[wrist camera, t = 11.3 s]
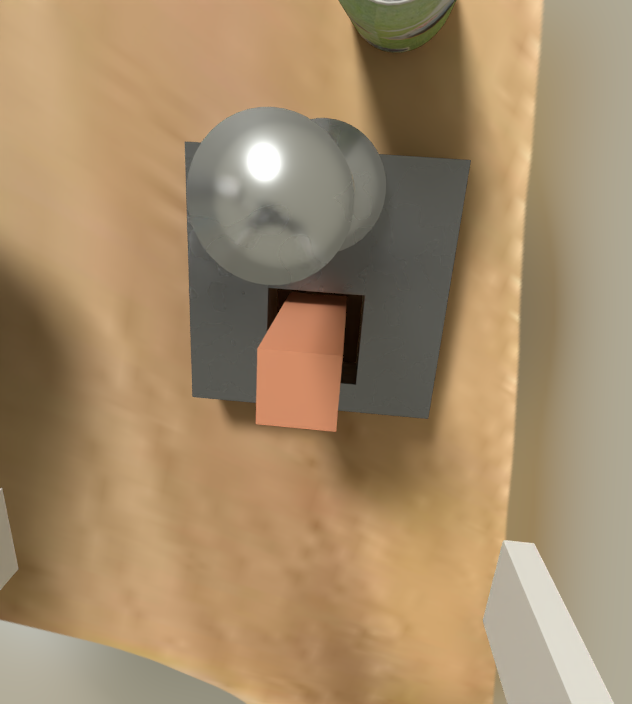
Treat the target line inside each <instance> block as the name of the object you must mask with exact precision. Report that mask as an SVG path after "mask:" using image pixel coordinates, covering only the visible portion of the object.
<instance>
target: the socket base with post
mask: <svg viewBox="0 0 632 704" xmlns="http://www.w3.org/2000/svg"><path fill="white" fill-rule="evenodd" d="M470 162H471V160H460V159H445V158H430V157H414V156H399V155H383V154H378V152H377V150H376V148H375V147H374V145H373V144H372V142H371V141H370V140H369V139H368V138H367V137H366V136H365V135H364V134H363V133H362V132H360V131H359V130H358V129H356V128H355V127H353V126H352V125H349V124H347V123H345V122H342V121H339V120H335V119H328V118H316V119H309V118H307V117H306V116H303V115H301V114H299V113H297V112H294V111H291V110H287V109H284V108H276V107H258V108H252V109H247V110H244V111H241V112H238V113H236V114H234V115H232V116H230V117H228V118H226V119H225V120H223V121H222V122H220V123H219V124H218V125H217V126H216V127H214V128H213V129H212V130H211V131H210V132H209V133H208V135H207V136H206V137H205V138H204V140H203V141H202V142H201V143H198V142H185V167H186V199H187V232H188V265H189V298H190V331H191V363H192V396H193V397H199V398H210V399H220V400H231V401H242V402H253V403H256V390H257V348H258V347H259V345H260V343H261V342H262V340H263V338H264V336H265V335H266V333H267V331H268V330H269V328H270V326H271V324H272V323H273V321H274V319H275V318H276V316H277V292H278V289H291V290H303V291H316V292H328V293H341V294H353V295H363V296H362V306H361V316H360V326H359V336H358V346H357V356H356V363H354V362H343V361H342V370H341V382H340V393H339V404H338V410H339V411H349V412H360V413H371V414H382V415H392V416H403V417H414V418H425V419H428V417H429V411H430V404H431V398H432V392H433V386H434V380H435V374H436V368H437V362H438V356H439V350H440V344H441V338H442V332H443V326H444V320H445V314H446V308H447V301H448V295H449V289H450V283H451V277H452V271H453V265H454V259H455V253H456V247H457V241H458V235H459V229H460V223H461V217H462V211H463V205H464V199H465V192H466V186H467V180H468V174H469V168H470Z"/></svg>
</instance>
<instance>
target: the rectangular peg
mask: <svg viewBox="0 0 632 704" xmlns="http://www.w3.org/2000/svg"><path fill="white" fill-rule="evenodd" d="M346 305H347V296H336V295H323V294H311V293H298V292H290V294H289V296H288V297H287V299H286V301H285V302H284V304H283V306H282V307H281V309H280V311H279V313H278V314H277V316H276V318H275V319H274V321H273V323H272V324H271V326H270V328H269V330H268V331H267V333H266V335H265V336H264V338H263V340H262V342H261V343H260V345H259V347H258V348H257V390H256V424H260V425H271V426H281V427H291V428H302V429H312V430H323V431H333V432H336V426H337V415H338V404H339V393H340V382H341V370H342V359H343V346H344V332H345V319H346Z"/></svg>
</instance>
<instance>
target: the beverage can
mask: <svg viewBox="0 0 632 704" xmlns="http://www.w3.org/2000/svg"><path fill="white" fill-rule="evenodd" d="M339 2H340V4H341V5H342V7H343V8H344V10H345V12H346V13H347V15H348V17H349V18H350V20H351V21H352V23H353V25H354V26H355V28H356V29H357V31H358V32H359V34H360V35H361V36H362V37H363V38H364V39H365V40H366V41H367V42H368V43H369V44H371V45H372V46H374V47H375V48H378V49H380V50H383V51H387V52H392V53H397V52H406V51H410V50H413V49H415V48H418V47H420V46H421V45H423V44H424V43H426V42H428V41H429V40H430V39H431V38H432V37H433V36H434V35H435V34H437V32H438V31H439V30H440V29H441V27H442V26H443V25H444V23H445V22H446V20H447V18H448V16H449V15H450V13H451V10H452V8H453V6H454V4H455V2H456V0H339Z"/></svg>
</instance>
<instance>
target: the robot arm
mask: <svg viewBox="0 0 632 704" xmlns="http://www.w3.org/2000/svg"><path fill="white" fill-rule="evenodd" d="M18 569H19V568H18V563H17V558H16V553H15V548H14V543H13V539H12V534H11V529H10V524H9V519H8V514H7V509H6V504H5V499H4V494H3V489H2V488H0V590H1V589H2V588H3V586H4V585H5V584H6V583H7V582H8V581H9V579H10V578H11V577H12V576H13V575H14V574H15V573H16V571H17V570H18ZM483 623H484V626H485V630H486V633H487V637H488V640H489V643H490V647H491V650H492V654H493V657H494V660H495V664H496V667H497V670H498V674H499V677H500V681H501V684H502V687H503V691H504V694H505V698H506V701H507V704H614V702H613V701H612V698H611V697H610V694H609V693H608V690H607V689H606V686H605V684H604V682H603V680H602V678H601V677H600V675H599V672H598V670H597V669H596V666H595V664H594V662H593V660H592V658H591V656H590V654H589V652H588V650H587V649H586V646H585V644H584V643H583V640H582V638H581V636H580V634H579V632H578V630H577V628H576V627H575V624H574V622H573V620H572V618H571V616H570V614H569V612H568V610H567V608H566V606H565V604H564V602H563V600H562V599H561V596H560V595H559V592H558V590H557V588H556V586H555V584H554V582H553V580H552V578H551V576H550V574H549V572H548V570H547V568H546V566H545V564H544V562H543V560H542V558H541V557H540V554H539V552H538V550H537V548H536V547H535V544H534V543H526V542H517V541H507V540H503V543H502V547H501V551H500V555H499V559H498V563H497V567H496V571H495V574H494V578H493V582H492V586H491V590H490V594H489V598H488V602H487V606H486V610H485V614H484V618H483Z"/></svg>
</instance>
